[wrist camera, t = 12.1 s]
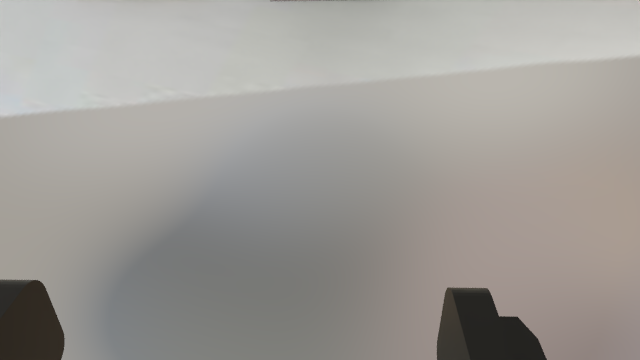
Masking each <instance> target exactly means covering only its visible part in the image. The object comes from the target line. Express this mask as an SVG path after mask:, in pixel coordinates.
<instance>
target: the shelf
mask: <svg viewBox="0 0 640 360" xmlns="http://www.w3.org/2000/svg"><path fill="white" fill-rule="evenodd" d="M270 1H330V0H270Z"/></svg>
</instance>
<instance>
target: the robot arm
mask: <svg viewBox="0 0 640 360" xmlns="http://www.w3.org/2000/svg"><path fill="white" fill-rule="evenodd" d="M63 350H64V333H63V330H62V327H61V325H60V322H59V320H58V318H57V315H56V313H55V310H54V308H53V306H52V303H51V301H50V298H49V296H48V293H47V291H46V288H45V286H44V285H43V283H41V282H40V281H38V280H0V360H61V358H62V355H63ZM437 360H547V359H546V357H545V355H544V352H543V350H542V348H541V345H540V343H539V341H538V339H537V338H536V336H535V335H534V334H533V333H532V332H531V331H530V330H529V329H528V328H527V327H526V326H525V325H524V323H523V322H522V321H521V320H520V319H519V318H518V317H499V316H498V313H497V310H496V307H495V304H494V301H493V299H492V296H491V294H490V292H489V290H488V289H487V288H447V290H446V293H445V298H444V304H443V310H442V316H441V322H440V328H439V334H438V340H437Z"/></svg>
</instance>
